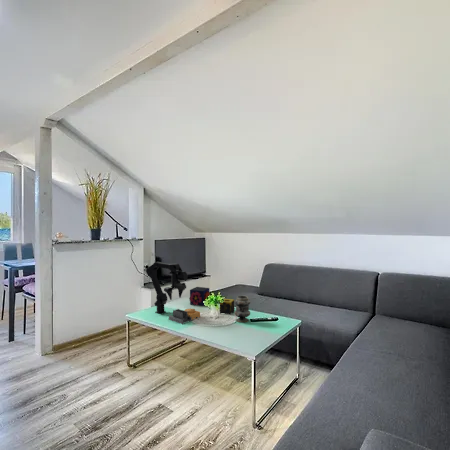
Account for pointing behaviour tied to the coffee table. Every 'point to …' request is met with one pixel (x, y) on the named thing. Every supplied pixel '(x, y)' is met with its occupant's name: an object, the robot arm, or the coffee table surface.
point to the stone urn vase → (242, 308)
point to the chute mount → (180, 319)
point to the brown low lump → (192, 313)
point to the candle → (227, 306)
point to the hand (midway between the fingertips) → (175, 298)
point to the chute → (180, 314)
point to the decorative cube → (198, 295)
